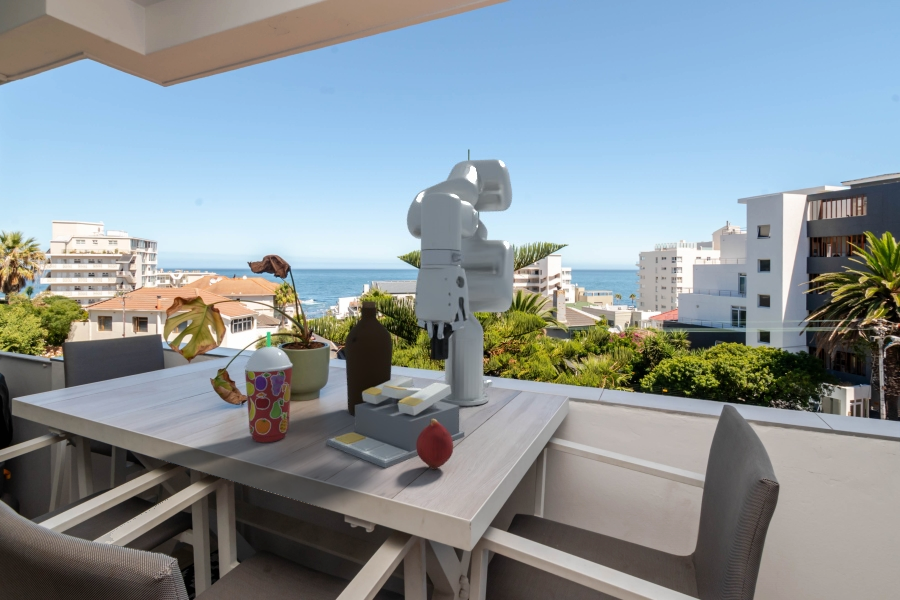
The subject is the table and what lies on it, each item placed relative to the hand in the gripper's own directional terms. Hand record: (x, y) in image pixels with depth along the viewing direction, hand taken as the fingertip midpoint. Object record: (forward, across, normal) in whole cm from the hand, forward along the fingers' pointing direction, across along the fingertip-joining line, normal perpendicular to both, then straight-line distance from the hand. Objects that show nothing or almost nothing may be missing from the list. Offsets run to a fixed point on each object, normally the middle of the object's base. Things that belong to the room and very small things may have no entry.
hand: (439, 359), depth 86 cm
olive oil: (+15, +24, -4) cm, 29 cm away
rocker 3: (+8, 0, +3) cm, 9 cm away
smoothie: (+15, +24, +20) cm, 35 cm away
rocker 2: (+8, +5, +3) cm, 10 cm away
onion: (+16, -8, +10) cm, 21 cm away
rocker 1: (+8, +10, +3) cm, 13 cm away
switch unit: (+15, +6, +6) cm, 17 cm away
